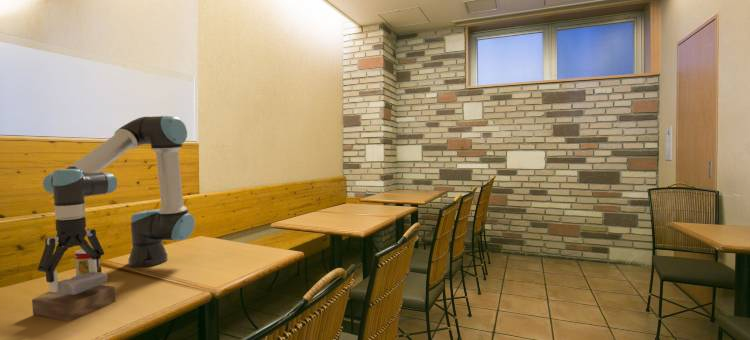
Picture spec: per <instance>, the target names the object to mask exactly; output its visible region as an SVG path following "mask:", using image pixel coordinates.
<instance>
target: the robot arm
mask: <svg viewBox="0 0 750 340" xmlns="http://www.w3.org/2000/svg"><path fill="white" fill-rule="evenodd" d="M187 129H188V128H187V127H186V124H185V122H184V121H182V120H181V118H179V117H178V116H171V115H165V116H164V115H160V116H159V115H158V116H142V117H138V118H135V119H134V120H131V121H129V122H127V123H126V124H124V125H122V126H120V127H119V128H118V129H117V130H115V131H114V134H113V135H112V136H111V137H109V139H107V140H105V141H104V142H103V143H101V144H100V145H98V146H97V147H95V148H94V149H92V150H91V151H90V152H88V153H87V154H85V155H84V156H82V157H81V158H79V159H78V160H76V161H75V162H74V163H72V164H71V165H69V166H68V167H66V168H61V169H56V170H54V171H53V172H51V173H47V175H45V177H44V179H43V181H42V185H43V186H42V187H43V188H44V190H45V191H46V192H47V193H49V194H52V195H53V201H54V203H53V204H54V217H55V218H56V220H55V221H54V222H55V223H54V224H55V230H56V236H55V237H46V238H45V240H44V241H45V242H44V243H45V245H44V249H43V252H42V255H41V257H40V262H39V264H38V267H37V271H38V272H45V278H46V282H47V283H48V285H49V293H52V292H58V291H59V287H58V282H59V276H58V275H59V274H58V270H56V268H57V267H58V264H59V263H60V261H61V259H62V258H63V256H64V255H65V252H66V251H68V249H69V248H73V247H77V246H78V247H80V248H81V249H83V250H84V251H85V252H86V253H87V254H88V255H89V256H90V257H91V258H92V259H88V265H89V272H97V268H98V266H99V263H98V259H100V258H101V257H102V256H104V254H105V251H104V249H103V248H102V245H101V243H100V241H99V239H98V237H97V233H96V229H93V228H87V222H86V221H87V219H86V217H85V216H86V205H85V199H86V197H92V196H98V195H99V196H100V195H107V194H110V193H113V192H114V191H115V190H116V189H117V187H118V180H117V177H116V176H115V175H114V174H113V173H112V172H108V171H107V172H106V171H105V172H101V171H103V170H105V168H106V167H108V166H110V165H111V164H112V163H113V162H115V161H116V160H117V159H119V158H120V157H121V156H122V155H124V154H125V153H126V152H128V151H129V150H134V149H136V148H137V147H139V146H142V145H150V147H151V150H152V151H153V152H155V156H156V166H157V176H158V187H159V197H160V208H157V209H149V210H144V211H143V210H142V211H139V212H136V213H135V212H134V213H133V214H132V215H131V217H130V230H131V246H132V247H131V250H130V254H129V258H128V261H127V262H128V266H129V267H133V268H141V267H142V268H143V267H149V266H155V265H159V264H163V263H165V262H167V261H168V253H167V252H166V249H165V246H164V244H163V241H173V242H175V241H176V242H177V241H184V240H187V239H188V238H189V237H190V236H191V235H192V233H193V232H194V229H195V225H196V220H195V217H194V215H193V214H191V213H189V210H188V207H187V206H185V205H184V197H183V185H182V176H181V164H180V162H181V161H180V153H179V152H180V150H181V149H183V144H184V143H185V142H186V141H187V139H188V138H187V137H188V130H187ZM86 228H87V229H86ZM85 237H87V239H88V241H89V242H88V241H87V239H85ZM57 243H58V244H57ZM89 243H90V244H89ZM92 248H93V249H92ZM101 259H102V258H101Z"/></svg>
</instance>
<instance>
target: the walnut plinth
mask: <svg viewBox="0 0 750 340" xmlns="http://www.w3.org/2000/svg"><path fill="white" fill-rule="evenodd" d="M31 302H32V303H31V304H32V315H33V316H35V317H41V318H46V319H47V318H48V319H53V320H59V321H65V322H69V321H73V320H75V319H77V318H79V317H82V316H84V315H86V314H87V315H88V314H89V313H91V312H93V311H96V310H99V309H100V308H103V307H106V306H108V305H111V304H112V303H115V302H116V287H115V286H113V285H104V284H102V285H99V286H96V287H94V288H91V289H88V290H86V291H83V292H81V293H78V294H75V295H66V294H57V293H55V292H49V293H47V294H44V295H41V296H39V297H36V298H33V299H32V300H31Z"/></svg>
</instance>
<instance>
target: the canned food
mask: <svg viewBox="0 0 750 340" xmlns="http://www.w3.org/2000/svg"><path fill="white" fill-rule="evenodd" d="M92 249H93V248H92ZM74 257H75V258H74V259H75V260H74V261H75V276H78V275H81V274H84V273H89V265H88V259H92V258H91V257H90V256H89V255H88V254H87V253H86V252H85V251H84V250H83V249H82V248H81V249H78V250H76V251H75V252H74ZM98 263H99V266H98V268H97V272H100V273H103V272H102V258H100V259H98Z"/></svg>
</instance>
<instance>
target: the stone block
mask: <svg viewBox="0 0 750 340" xmlns="http://www.w3.org/2000/svg"><path fill="white" fill-rule="evenodd" d="M108 278H109V277H108V274H107V273H104V272H102V273H100V272H89V273H84V274H81V275H78V276H76V275H75V276H73V277H71V278H67V279H63V280H58V287H59V291H58V292H55V293H57V294H66V295H75V294H78V293H81V292H83V291H86V290H88V289H91V288H94V287H96V286H99V285H104V284H105V283H107V281H108Z"/></svg>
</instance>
